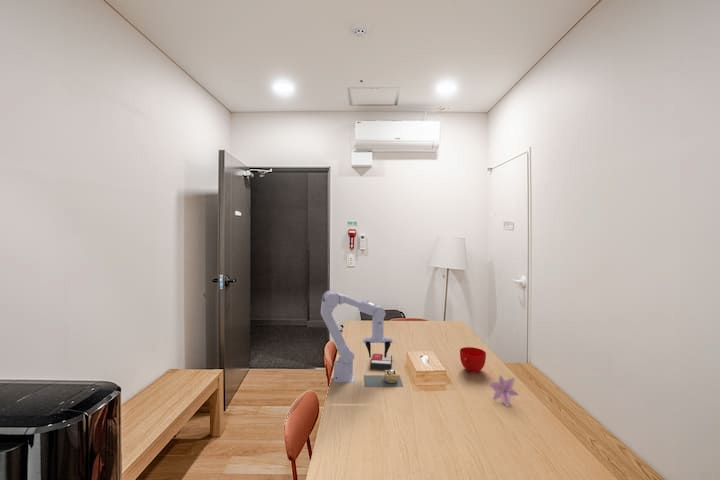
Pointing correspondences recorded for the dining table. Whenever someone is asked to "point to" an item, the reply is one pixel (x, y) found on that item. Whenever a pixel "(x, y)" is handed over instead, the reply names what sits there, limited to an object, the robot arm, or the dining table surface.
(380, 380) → the mat
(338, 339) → the robot arm
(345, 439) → the dining table surface
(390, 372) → the silver disc with post
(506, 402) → the lily
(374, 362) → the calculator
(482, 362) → the ceramic cup
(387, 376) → the bronze square frame
